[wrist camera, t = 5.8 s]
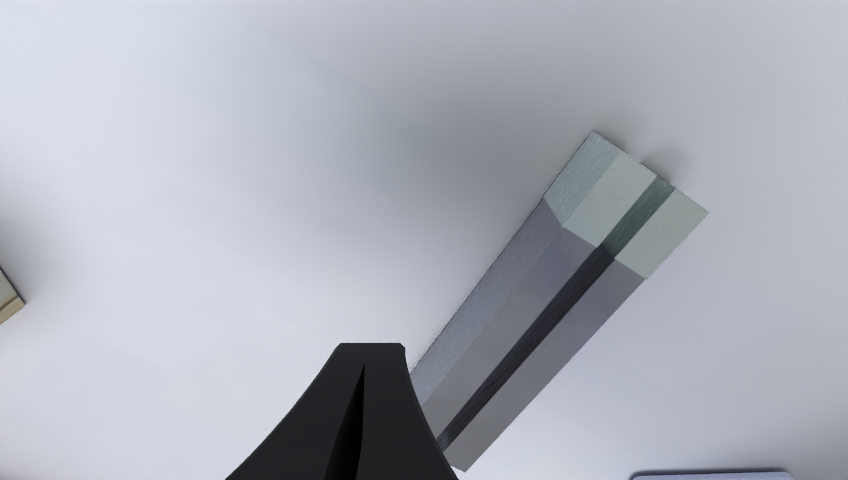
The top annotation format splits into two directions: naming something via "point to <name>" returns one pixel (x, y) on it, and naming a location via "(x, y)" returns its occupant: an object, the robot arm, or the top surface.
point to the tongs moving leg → (528, 275)
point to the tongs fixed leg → (572, 317)
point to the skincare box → (8, 300)
